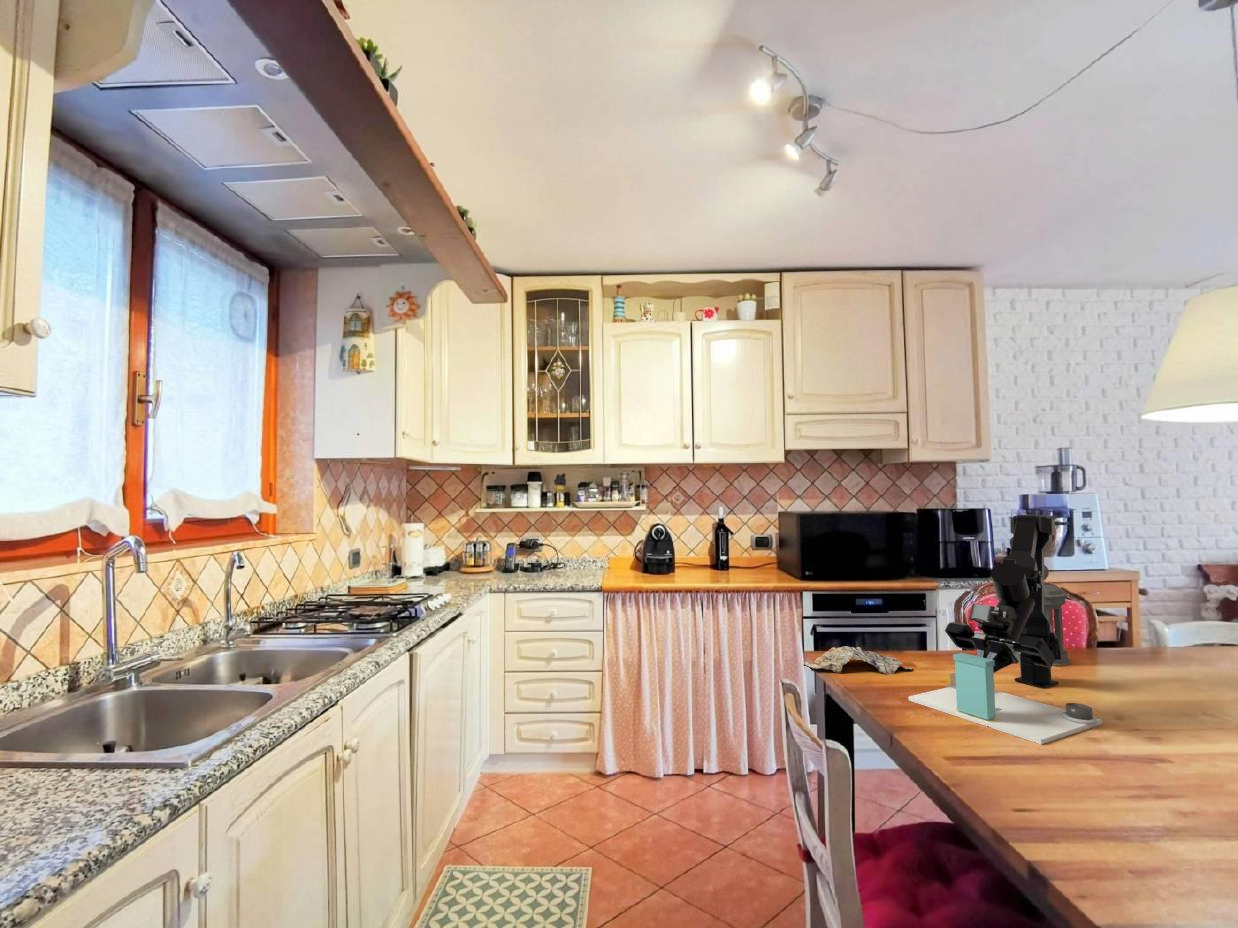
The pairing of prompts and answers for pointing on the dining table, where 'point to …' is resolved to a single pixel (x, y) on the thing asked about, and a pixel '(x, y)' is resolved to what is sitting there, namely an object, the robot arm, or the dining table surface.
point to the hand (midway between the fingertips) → (979, 677)
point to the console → (1017, 714)
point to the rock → (842, 655)
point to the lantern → (1052, 601)
